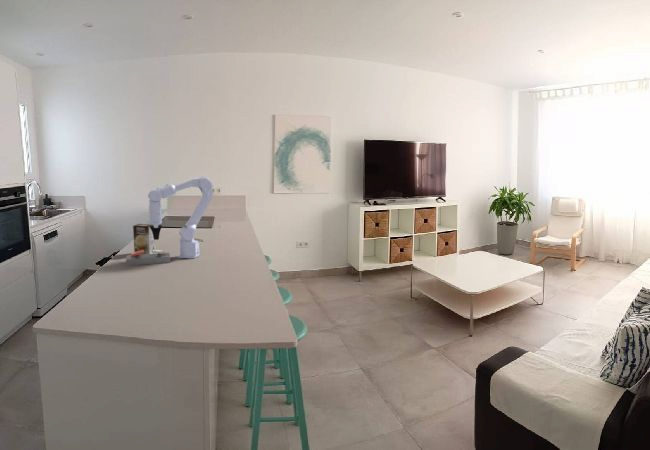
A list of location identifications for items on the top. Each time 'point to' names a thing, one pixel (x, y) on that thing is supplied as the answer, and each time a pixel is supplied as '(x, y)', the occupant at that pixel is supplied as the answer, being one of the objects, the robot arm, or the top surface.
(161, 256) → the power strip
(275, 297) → the top surface
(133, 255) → the red rocker
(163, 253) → the white rocker
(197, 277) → the top surface
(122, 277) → the top surface
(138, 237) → the coffee box
